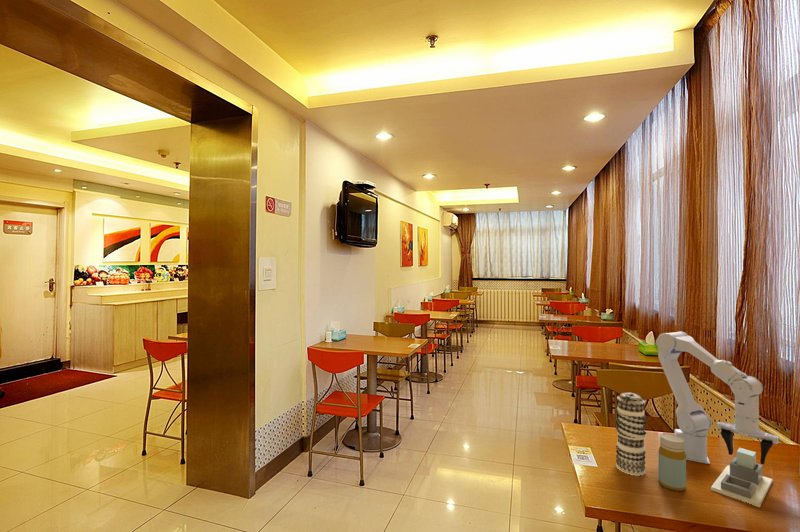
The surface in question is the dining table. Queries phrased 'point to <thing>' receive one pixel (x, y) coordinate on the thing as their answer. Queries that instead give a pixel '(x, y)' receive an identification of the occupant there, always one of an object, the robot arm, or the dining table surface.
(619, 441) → the decorative candle
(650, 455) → the dining table surface
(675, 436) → the bottle
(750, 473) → the board with square sockets
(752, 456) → the plug
